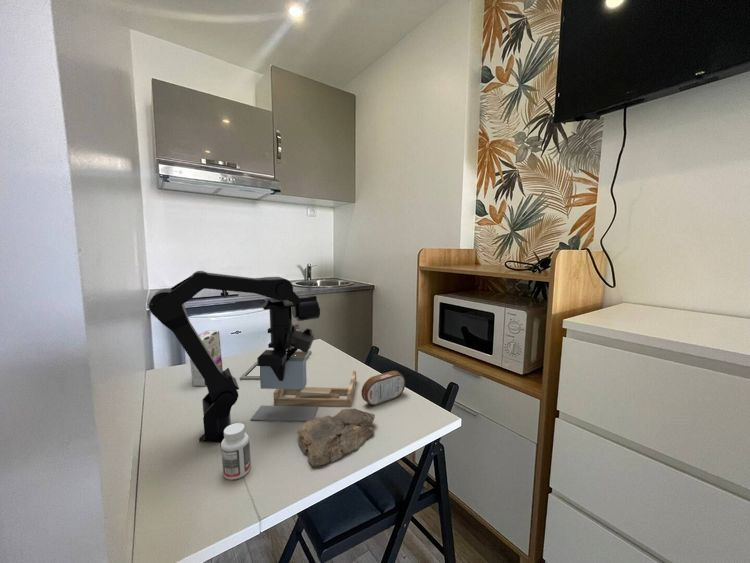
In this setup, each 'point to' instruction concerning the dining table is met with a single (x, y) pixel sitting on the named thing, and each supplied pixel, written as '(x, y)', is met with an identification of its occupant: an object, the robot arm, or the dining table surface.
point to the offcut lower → (330, 397)
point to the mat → (285, 413)
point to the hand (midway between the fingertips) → (283, 377)
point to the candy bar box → (213, 346)
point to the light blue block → (285, 375)
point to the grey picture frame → (245, 377)
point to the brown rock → (334, 435)
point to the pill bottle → (235, 451)
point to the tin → (383, 387)
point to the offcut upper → (315, 393)
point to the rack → (317, 401)
